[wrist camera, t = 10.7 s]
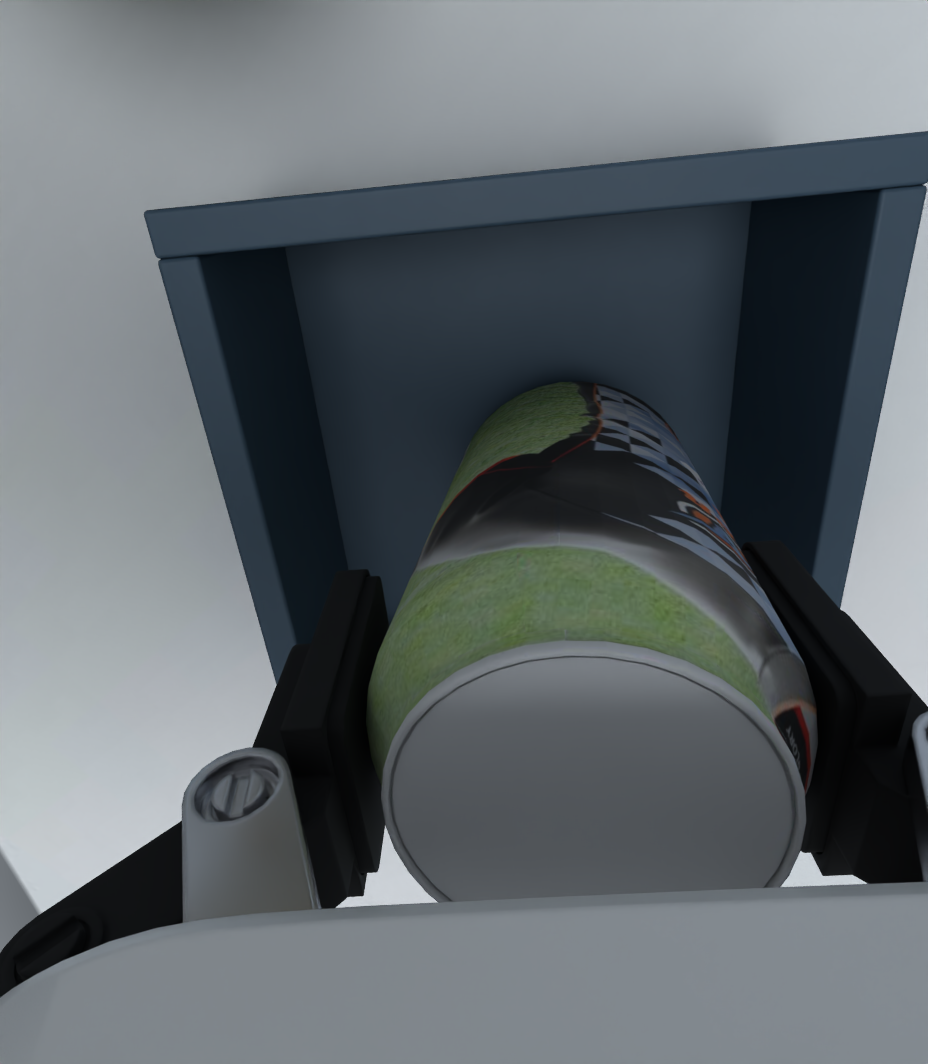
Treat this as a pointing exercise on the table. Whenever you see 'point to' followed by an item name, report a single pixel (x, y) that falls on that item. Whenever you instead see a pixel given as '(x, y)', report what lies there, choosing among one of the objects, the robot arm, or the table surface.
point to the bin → (541, 343)
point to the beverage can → (587, 673)
